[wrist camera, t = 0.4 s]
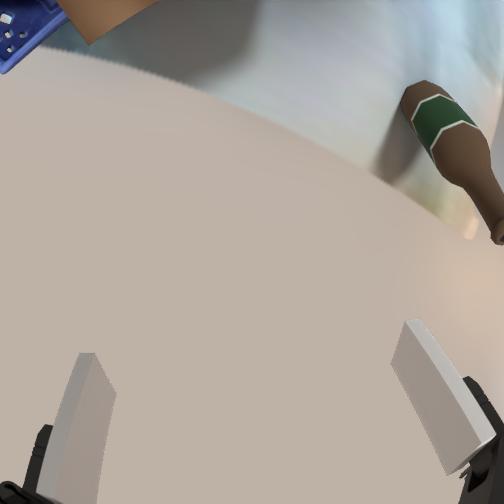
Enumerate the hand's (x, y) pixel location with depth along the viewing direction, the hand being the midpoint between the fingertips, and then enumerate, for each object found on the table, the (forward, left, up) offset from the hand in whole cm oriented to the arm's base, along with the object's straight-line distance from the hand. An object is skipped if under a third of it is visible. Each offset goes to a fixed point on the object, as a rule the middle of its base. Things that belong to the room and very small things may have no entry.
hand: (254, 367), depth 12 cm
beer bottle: (+13, +21, -34) cm, 42 cm away
